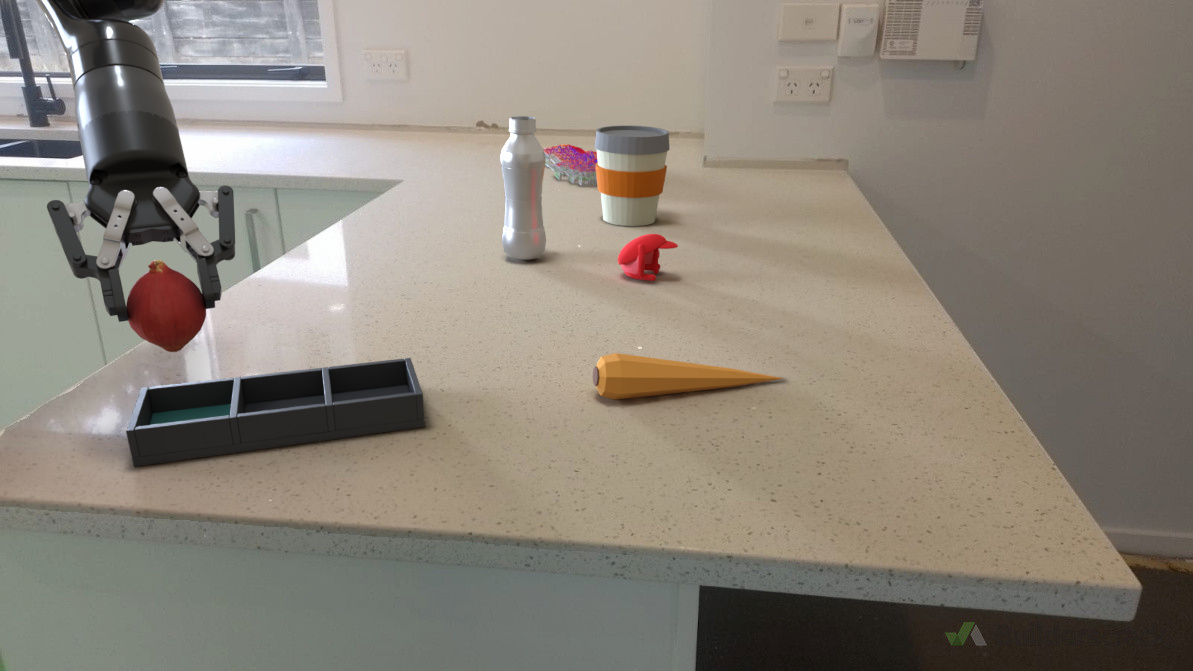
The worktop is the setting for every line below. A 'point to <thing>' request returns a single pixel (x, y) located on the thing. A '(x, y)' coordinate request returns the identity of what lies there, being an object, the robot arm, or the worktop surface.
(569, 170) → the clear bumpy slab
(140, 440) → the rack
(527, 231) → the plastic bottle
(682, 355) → the worktop surface
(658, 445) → the worktop surface
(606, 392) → the carrot
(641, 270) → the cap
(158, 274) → the onion
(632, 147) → the reusable coffee cup
